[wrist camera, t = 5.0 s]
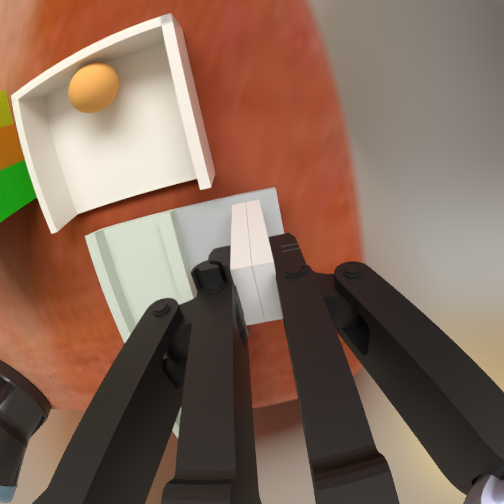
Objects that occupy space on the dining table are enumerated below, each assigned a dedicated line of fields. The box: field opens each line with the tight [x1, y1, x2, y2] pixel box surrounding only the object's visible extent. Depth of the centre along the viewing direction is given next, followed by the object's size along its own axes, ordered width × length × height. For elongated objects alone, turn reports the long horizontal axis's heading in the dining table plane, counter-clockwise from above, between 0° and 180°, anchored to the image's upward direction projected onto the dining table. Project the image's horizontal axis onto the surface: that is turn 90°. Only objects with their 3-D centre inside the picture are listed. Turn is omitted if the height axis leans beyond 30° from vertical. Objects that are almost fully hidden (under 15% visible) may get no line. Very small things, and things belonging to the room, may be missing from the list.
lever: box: [85, 187, 284, 438], centre depth 19 cm, size 20×12×3 cm, turn 11°
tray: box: [11, 13, 215, 234], centre depth 14 cm, size 11×10×4 cm
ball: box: [68, 62, 119, 113], centre depth 12 cm, size 3×3×3 cm
